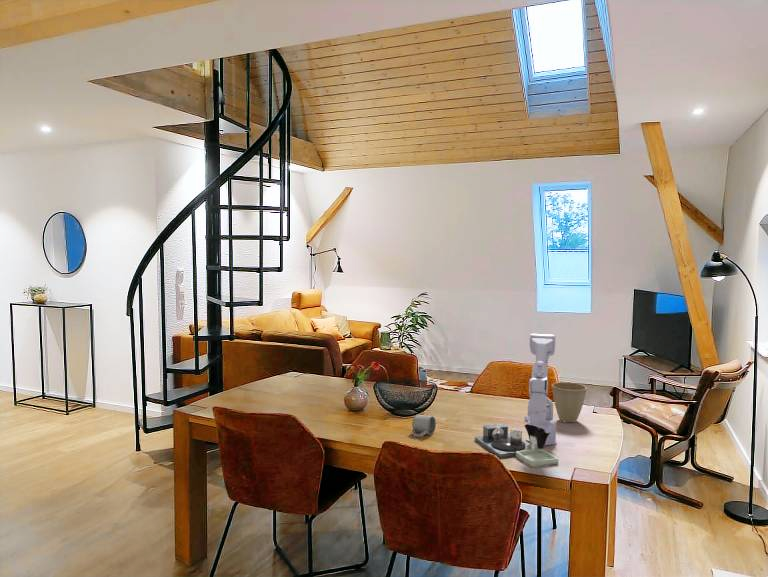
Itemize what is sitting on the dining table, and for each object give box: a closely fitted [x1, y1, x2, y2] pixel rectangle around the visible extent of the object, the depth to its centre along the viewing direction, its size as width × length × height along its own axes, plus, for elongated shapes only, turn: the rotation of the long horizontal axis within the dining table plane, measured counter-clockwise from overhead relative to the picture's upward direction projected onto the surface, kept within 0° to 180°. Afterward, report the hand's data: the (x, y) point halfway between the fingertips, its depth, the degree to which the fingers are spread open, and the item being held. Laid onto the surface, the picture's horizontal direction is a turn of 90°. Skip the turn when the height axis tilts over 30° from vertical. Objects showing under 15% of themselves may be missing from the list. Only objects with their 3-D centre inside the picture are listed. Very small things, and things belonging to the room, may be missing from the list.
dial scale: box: [474, 423, 531, 459], centre depth 226 cm, size 16×20×6 cm
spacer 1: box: [510, 428, 523, 444], centre depth 224 cm, size 4×4×5 cm
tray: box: [515, 448, 559, 468], centre depth 212 cm, size 11×11×2 cm
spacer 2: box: [529, 434, 541, 450], centre depth 211 cm, size 4×4×5 cm
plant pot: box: [551, 381, 587, 423], centre depth 259 cm, size 15×15×16 cm
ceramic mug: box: [411, 414, 437, 438], centre depth 241 cm, size 11×8×8 cm
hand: (536, 446), depth 212 cm, fingers closed on spacer 2, 4 cm apart
